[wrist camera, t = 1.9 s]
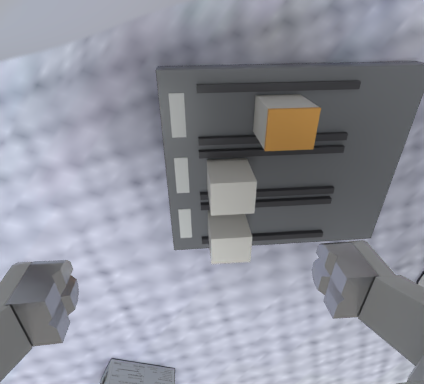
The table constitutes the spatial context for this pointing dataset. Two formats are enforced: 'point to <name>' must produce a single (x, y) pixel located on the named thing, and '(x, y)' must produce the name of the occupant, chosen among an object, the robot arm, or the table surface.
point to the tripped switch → (285, 122)
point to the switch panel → (281, 153)
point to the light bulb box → (136, 373)
